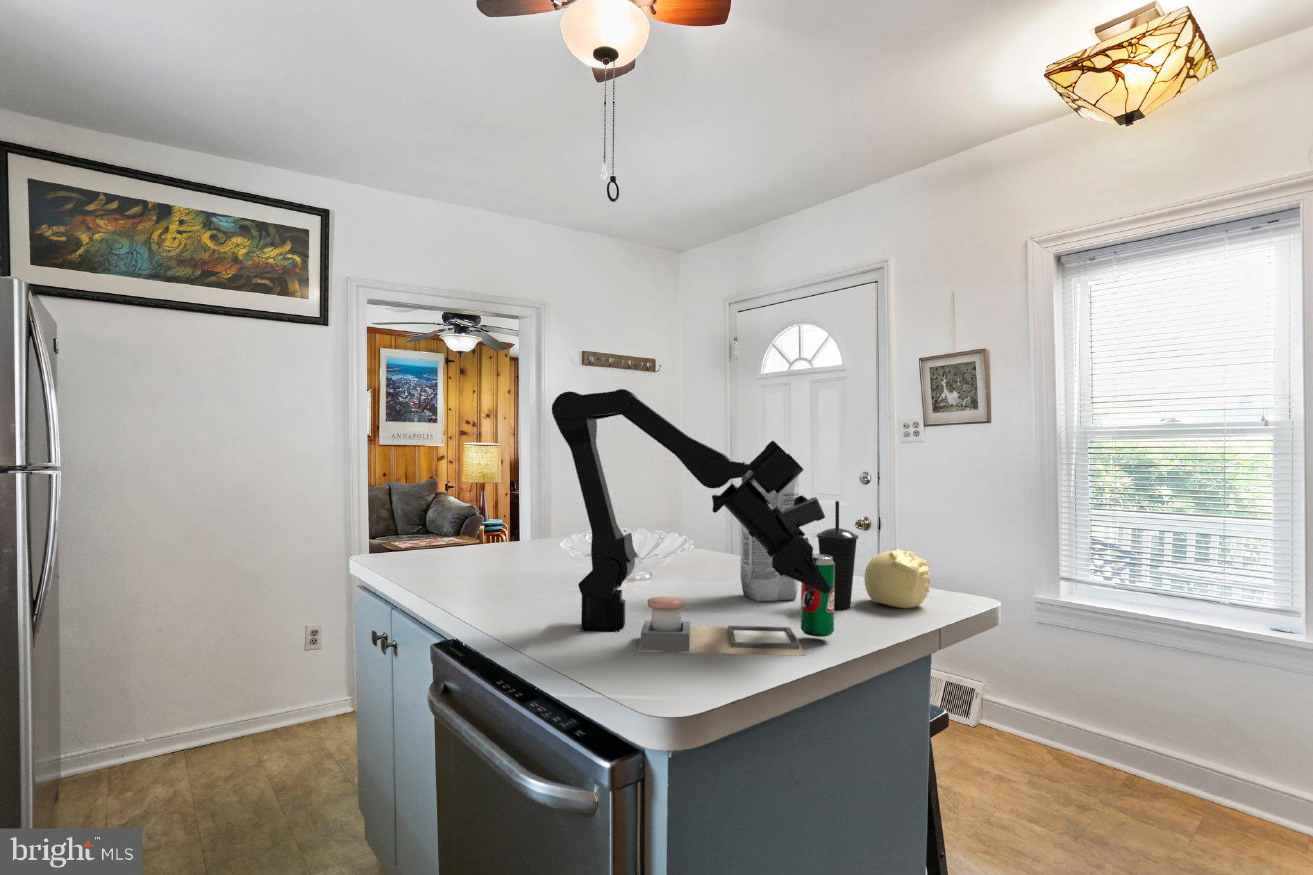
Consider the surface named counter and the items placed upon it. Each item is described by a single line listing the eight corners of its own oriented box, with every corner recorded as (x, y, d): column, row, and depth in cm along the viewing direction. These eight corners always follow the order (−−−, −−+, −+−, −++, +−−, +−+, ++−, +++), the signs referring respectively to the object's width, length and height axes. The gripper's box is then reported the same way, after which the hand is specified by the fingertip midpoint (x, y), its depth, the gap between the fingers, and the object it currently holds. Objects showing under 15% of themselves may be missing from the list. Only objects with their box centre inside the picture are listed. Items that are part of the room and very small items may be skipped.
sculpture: (923, 615, 121) (923, 555, 121) (857, 606, 127) (857, 549, 127) (936, 603, 130) (936, 548, 130) (873, 595, 137) (873, 543, 137)
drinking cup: (843, 613, 121) (843, 503, 121) (808, 606, 127) (808, 500, 127) (866, 607, 126) (866, 501, 126) (831, 600, 132) (831, 499, 132)
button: (646, 634, 97) (646, 604, 97) (649, 624, 102) (649, 596, 103) (684, 635, 96) (684, 605, 97) (685, 625, 102) (685, 596, 102)
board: (636, 655, 96) (636, 646, 96) (644, 629, 110) (644, 621, 110) (806, 659, 94) (806, 651, 94) (792, 632, 108) (792, 625, 108)
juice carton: (803, 600, 131) (804, 463, 132) (754, 603, 128) (755, 463, 129) (782, 591, 140) (783, 462, 140) (736, 594, 137) (736, 462, 137)
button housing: (640, 650, 96) (640, 632, 96) (644, 636, 103) (644, 620, 103) (689, 651, 96) (689, 633, 96) (689, 637, 103) (690, 621, 103)
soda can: (834, 638, 101) (836, 559, 101) (800, 636, 102) (802, 557, 102) (832, 630, 106) (834, 554, 106) (800, 627, 107) (801, 552, 107)
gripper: (797, 481, 96) (876, 562, 94) (791, 477, 114) (856, 544, 112) (741, 534, 97) (817, 615, 95) (744, 521, 115) (808, 588, 113)
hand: (826, 587), depth 104 cm, fingers closed on soda can, 5 cm apart
